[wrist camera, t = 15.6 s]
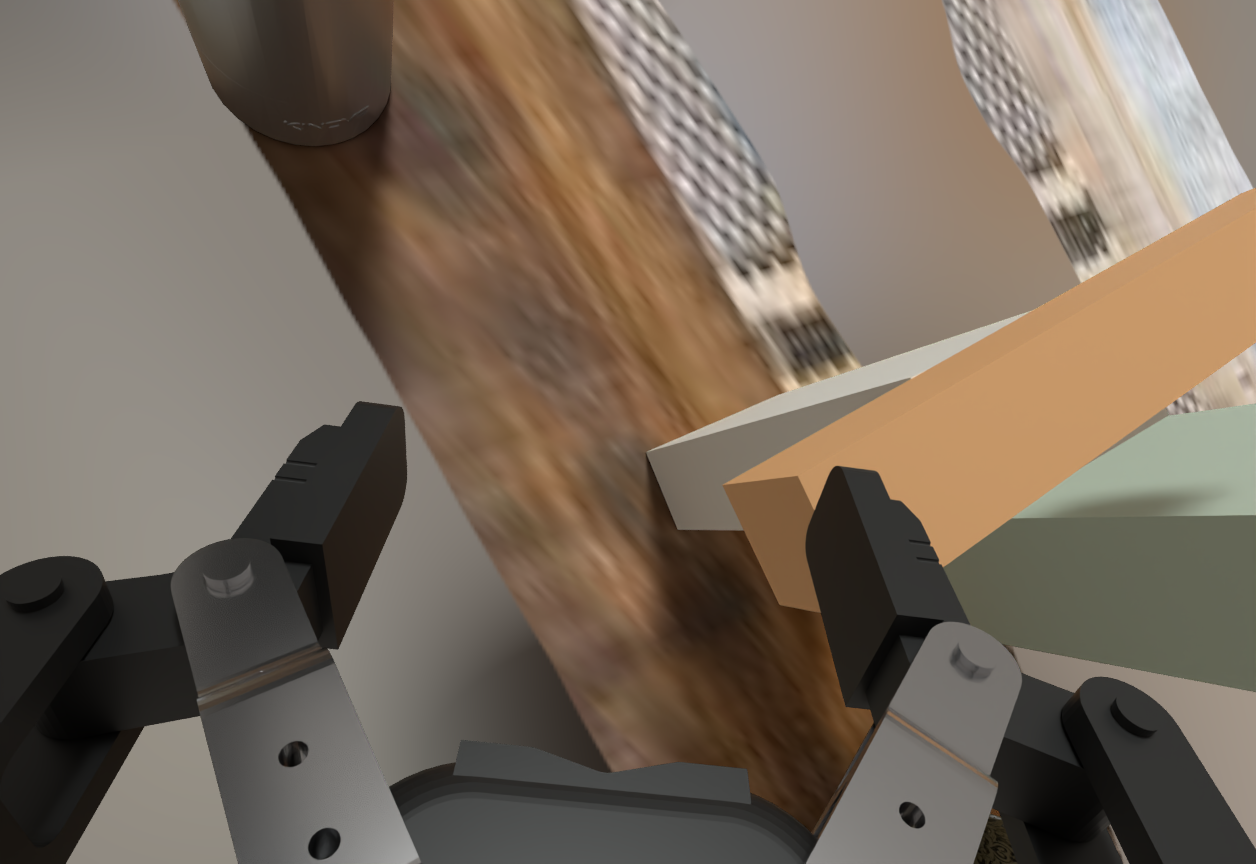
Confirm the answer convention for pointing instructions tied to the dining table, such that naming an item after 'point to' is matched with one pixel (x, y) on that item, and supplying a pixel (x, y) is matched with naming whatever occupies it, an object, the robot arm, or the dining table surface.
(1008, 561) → the stand
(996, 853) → the cup
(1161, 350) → the bar
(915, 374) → the post
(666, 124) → the dining table surface
